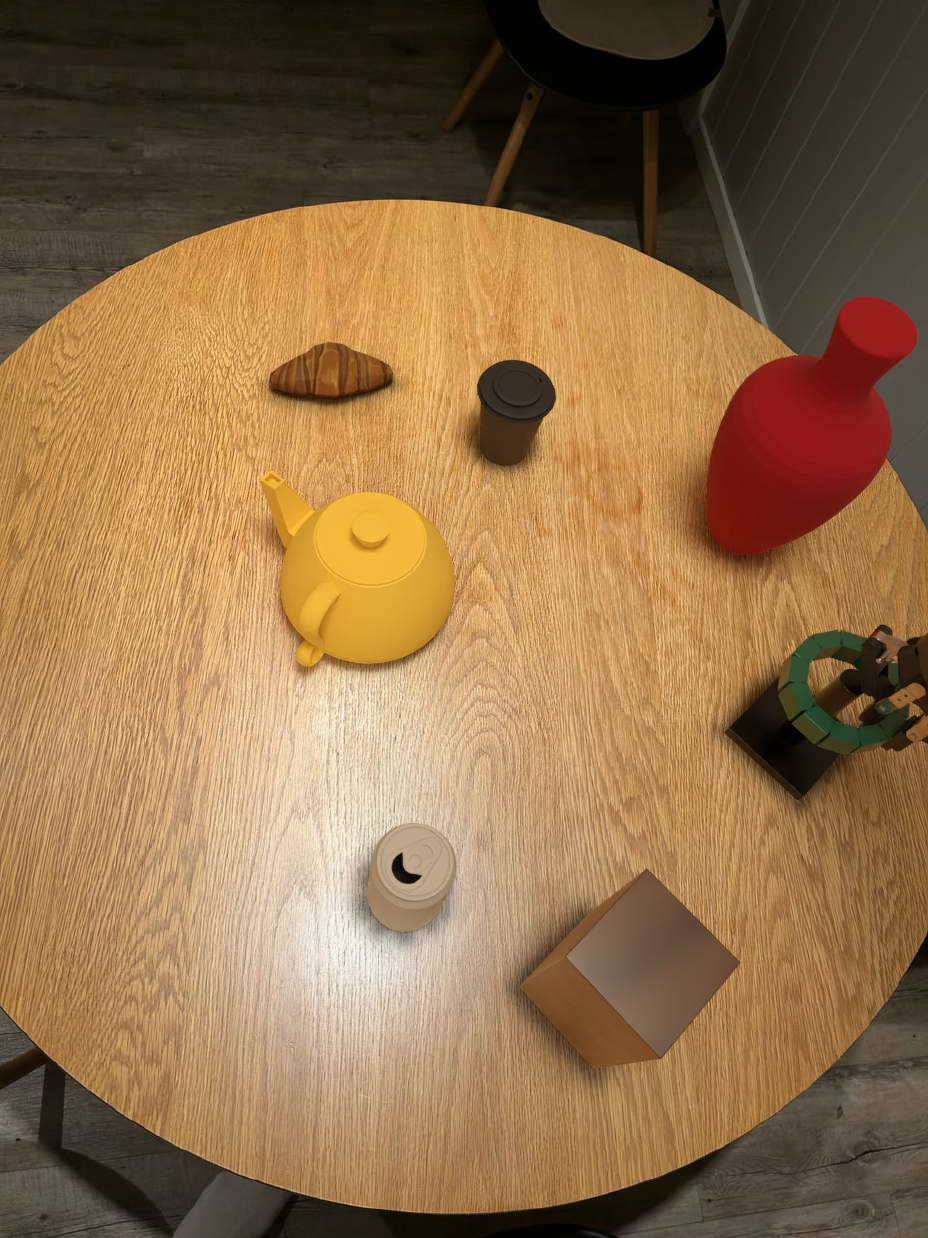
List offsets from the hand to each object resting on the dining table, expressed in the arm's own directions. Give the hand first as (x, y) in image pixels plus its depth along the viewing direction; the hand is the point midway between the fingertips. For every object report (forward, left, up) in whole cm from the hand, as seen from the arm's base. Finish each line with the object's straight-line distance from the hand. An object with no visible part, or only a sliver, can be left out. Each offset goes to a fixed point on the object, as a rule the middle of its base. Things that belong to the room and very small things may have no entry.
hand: (878, 732), depth 80 cm
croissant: (+64, +6, -10) cm, 66 cm away
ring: (+4, 0, 0) cm, 4 cm away
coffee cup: (+46, -3, -10) cm, 48 cm away
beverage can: (+18, +37, -10) cm, 43 cm away
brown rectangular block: (+2, +31, -10) cm, 33 cm away
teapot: (+43, +22, -10) cm, 50 cm away
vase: (+22, -15, -10) cm, 29 cm away
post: (+4, 0, -10) cm, 11 cm away
